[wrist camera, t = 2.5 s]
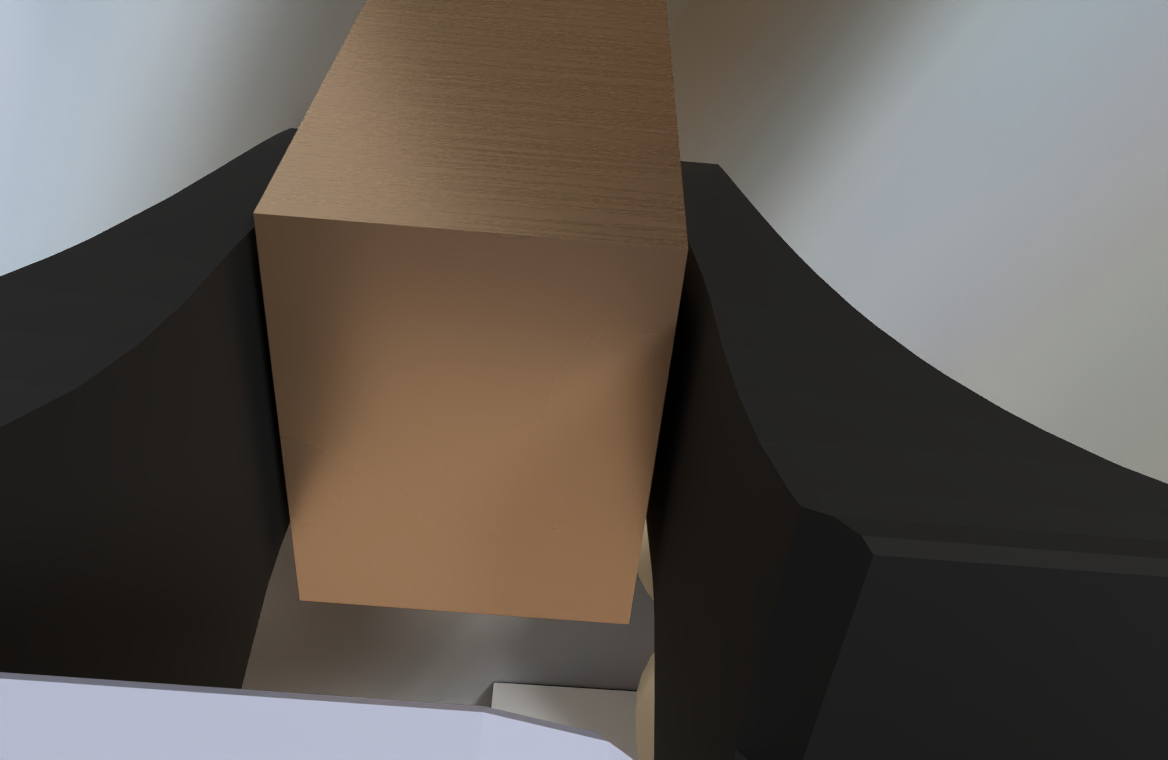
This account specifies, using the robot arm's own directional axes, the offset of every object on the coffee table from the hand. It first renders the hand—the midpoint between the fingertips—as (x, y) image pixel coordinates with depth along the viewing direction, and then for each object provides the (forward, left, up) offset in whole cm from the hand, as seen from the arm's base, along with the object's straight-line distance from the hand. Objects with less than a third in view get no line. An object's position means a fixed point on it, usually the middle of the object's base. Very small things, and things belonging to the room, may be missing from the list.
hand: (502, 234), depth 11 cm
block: (0, 0, -2) cm, 2 cm away
